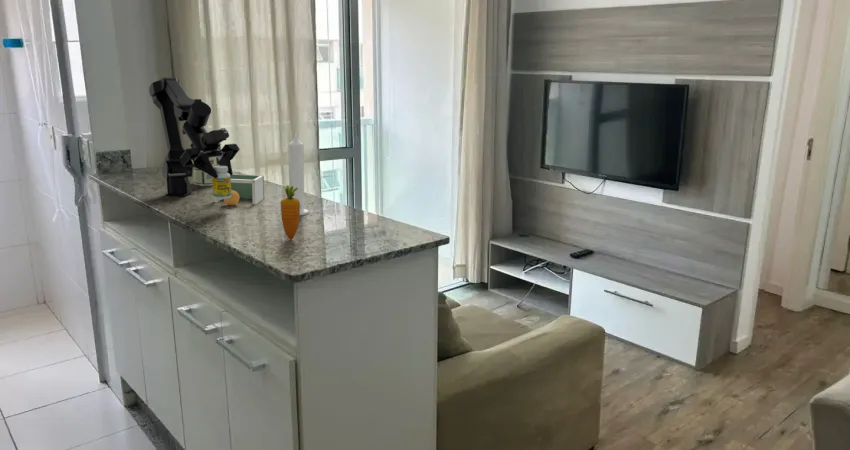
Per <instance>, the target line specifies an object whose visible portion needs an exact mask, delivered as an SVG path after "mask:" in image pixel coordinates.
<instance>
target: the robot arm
mask: <svg viewBox="0 0 850 450" xmlns="http://www.w3.org/2000/svg"><path fill="white" fill-rule="evenodd" d="M148 91H149V92H148V93H149V95H150V97H151V99H152V103H153V104H154V105H155V106H156V108H158V110H159V112H160V117H161V122H162V126H163V131H164V132H163V133H164V136H165V142H166V147H167V151H166V153H165V156H164V162H163V165H162V169H161V174H162V177H163V178H165V179H166V190H167V192H166V193H165V196H167V197H168V196H170V197H172V196H173V197H186V196H187V195H190V194H191V193H192V191H191V183H190V182H191V181H190V180H189V177H190V178H191V177H193V167H195V168H198V169H200V170H202V171H204V172H205V173H207V174H209V175H210V176H212V177H214V178H217V177H218V175H217V173H216V171H215V170H214V168H213V166H212V165H211V163H210V161H209V158H211V157H217V158H218V159H219V162H218V164H219V165H220V166H227V167H228V171H227V173H229V174H230V176H232V174H234V173H233V167H232V164H231V161H232V160H233V159H234V158H235V157H236V155H237V154H238V153H239V152H240V148H239V146H238V145H237V143H227V144H226V143H225V144H224V145H223V147H222V148H221V149H220V150H219V149H217V148H218V147H219V146H221V145H222V144H221V143H222V142H224V141H227V139H228V138H229V137H230V133H229V130H227V129H226V127H221V128H220V129H216V130H210V131H207V130H206V128H205V126H207V124H208V122H209V120H210V119H209V118H210V116H211V113H212V108H211V106H210V105H209V104H207V103H206V102H203V101H202V99H201V98H195V99H193V98H190V97H189V96H188V94H187V93H186V91H185V90H184V88H183V87H182V85H181V84H180V80H179V78H177V77H170V76H169V77H167V76H166V77H162V78H160V79H159V80H156V81H154V82H151V84H150V85H149V88H148ZM177 120H178V121H179V122H184V123H183V125H182V130H181V131H182V132H181V133H182V135H186V136H187V138H188V139H189V140H190V141H189V142H190V147H189V148H186V149H185V147H183V145H182V140H181V136H180V130H179V125H178V121H177ZM193 162H194V164H193Z"/></svg>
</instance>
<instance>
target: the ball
mask: <svg viewBox="0 0 850 450" xmlns="http://www.w3.org/2000/svg"><path fill="white" fill-rule="evenodd" d="M239 201H240V198H239V194H238V193H237V192H236V191H234V190H231V197H230V198H227V199H223V202H224V203H225V204H226V205H228V206H236V205H237V204H238V203H239Z"/></svg>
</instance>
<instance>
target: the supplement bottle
mask: <svg viewBox="0 0 850 450" xmlns="http://www.w3.org/2000/svg"><path fill="white" fill-rule="evenodd" d="M214 170H215V171H216V173H217V175H218V177H217V178H214V177H212V182H213V186H212V195H213V199H214V198H216V199H222V200H224V199H227V198H230V197H231V178H230V174H229V173H227V171H228V167H227V166H215V167H214Z"/></svg>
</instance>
